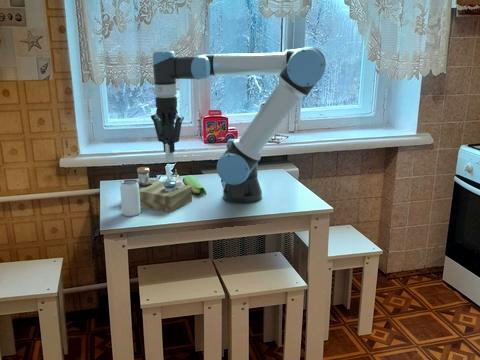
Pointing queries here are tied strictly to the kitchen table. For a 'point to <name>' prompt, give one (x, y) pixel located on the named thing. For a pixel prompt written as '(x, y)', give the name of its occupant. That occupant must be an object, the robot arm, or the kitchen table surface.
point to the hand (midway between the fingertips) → (169, 160)
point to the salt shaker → (170, 186)
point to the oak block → (164, 196)
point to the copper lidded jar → (143, 176)
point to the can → (130, 197)
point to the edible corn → (194, 185)
